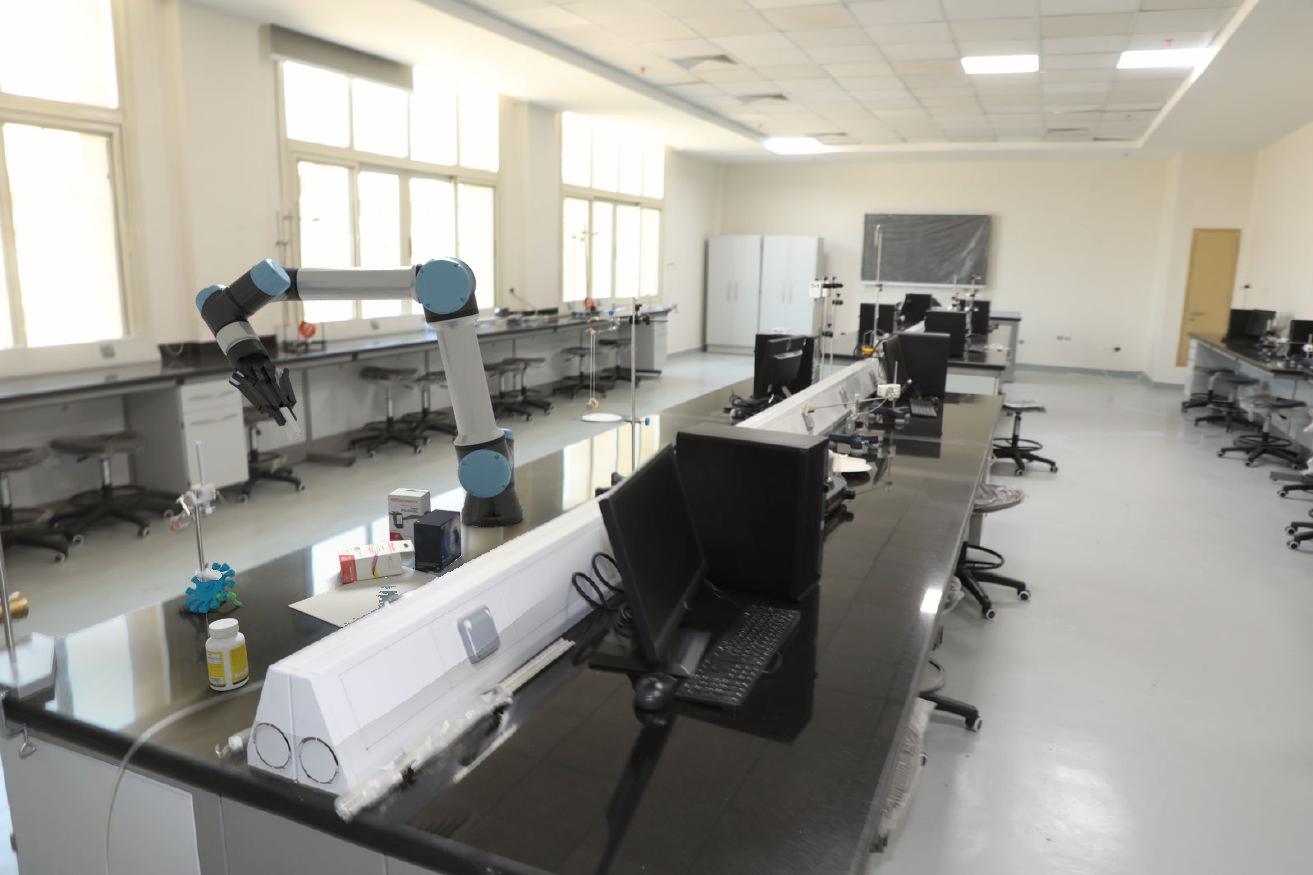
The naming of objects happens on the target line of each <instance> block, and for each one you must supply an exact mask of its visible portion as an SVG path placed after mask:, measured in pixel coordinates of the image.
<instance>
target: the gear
mask: <svg viewBox="0 0 1313 875" xmlns="http://www.w3.org/2000/svg"><path fill="white" fill-rule="evenodd" d="M206 567H207V566H206ZM207 568H209V567H207ZM211 569H213V570H217V571H220V572H223V573H221V574H222V577H221V578H220V579H219V580H210V581H207V582H201V580H200V581H199V580H198V579H197V577H196V576H197V575H194V576H193V577H192V578H191V579H190V581H191V582H192V583H193V584H194V585H195V587H196V588H195V589H194V588H192V587H191V586H188V587H187V588H186V590H185V592H184V593H185V594H186V595H188V596H192V595H194V597H193V598H191V597H186V598H185V600H184V604H185V605H187V606H188V607H189V610H190V612H193V613H197V612H198V611H199V612H200V613H202V614H207V613H208V611H209V608H212V609H213V610H215V609H218V608H220V606H221V603H220V602H219V601H222V602H225V603H227V604H229V605H230V604H233V605H236V606H237V607H242V605H243V603H242V602H240V601H238V600H237V599H236V598H237V594H235V593H234V592H232V591H227V590H225V587H226V586H227V587H228V588H230V589H233V588H234V587H235V585H236V581H234V580H233V579H229V580H226V579H227V578H234V577H235V575H236V572H235V570H234V569H231V566H230V565H229V564H228V563H226V562H224V563H222V564H220V563H218V562H213V563H212V565H211Z"/></svg>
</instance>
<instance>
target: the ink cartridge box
mask: <svg viewBox="0 0 1313 875" xmlns="http://www.w3.org/2000/svg"><path fill="white" fill-rule="evenodd" d="M405 545H406V546H407V547H406V546H405ZM337 551H338V560H339V565H340V566H339V568H340V570H339V571H340V575H341V583H342V584H348V583H352V582H355V581H360V580H365V579H371V578H377V577H383V576H389V575H396V574H402V566H403V565H402V556H401V553H410V552H411V553H412V552H414V551H415V549H414V545H413V544H412V542H411V540H402V541H390V540H389V541H385V542H384V541H383V542H377V543H372V544H371V543H370V544H365V545H364V544H363V545H358V546H357V545H356V546H351V547H343V548H338V549H337ZM401 565H402V566H401Z"/></svg>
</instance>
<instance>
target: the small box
mask: <svg viewBox="0 0 1313 875" xmlns="http://www.w3.org/2000/svg"><path fill="white" fill-rule="evenodd" d="M461 523H462V521H461V511H458V510H446V509H439V508H435V509H433V510H431V512H430V513H428V514H427V515H425V516H423V517H422V518H420V519H419V520H417V521H415V522H414V523H413V527H414V545H413V546H414V549H415V551H413V552H414V570H417V571H427V572H428V571H429V572H434V573H435V572H437V573H441V572H443V571H444V570H445V569H447V568H448V567H450V566H451V565H452V564H453V563H454V562H456V561H457V560H459V559H460V558H461V557H462V556H461V555H462V554H463V553H462V524H461ZM460 556H461V557H460ZM459 557H460V558H459ZM456 559H457V560H456ZM455 560H456V561H455ZM451 563H452V564H451ZM450 564H451V565H450Z"/></svg>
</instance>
